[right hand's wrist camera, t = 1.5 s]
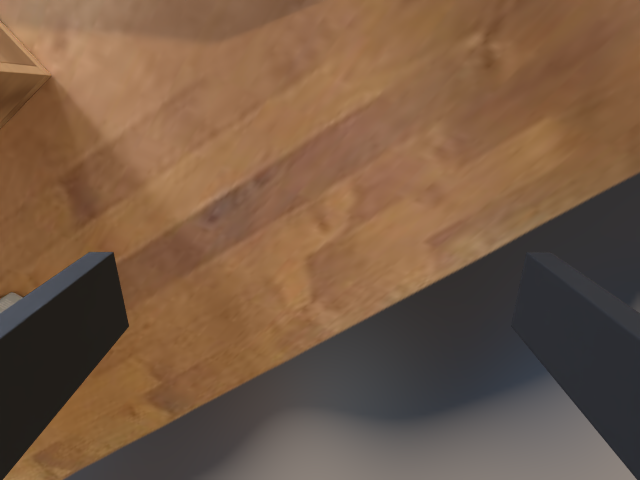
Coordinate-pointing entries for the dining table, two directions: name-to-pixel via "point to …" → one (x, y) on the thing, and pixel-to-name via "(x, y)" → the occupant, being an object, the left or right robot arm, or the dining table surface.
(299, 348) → the dining table surface
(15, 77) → the cabinet
